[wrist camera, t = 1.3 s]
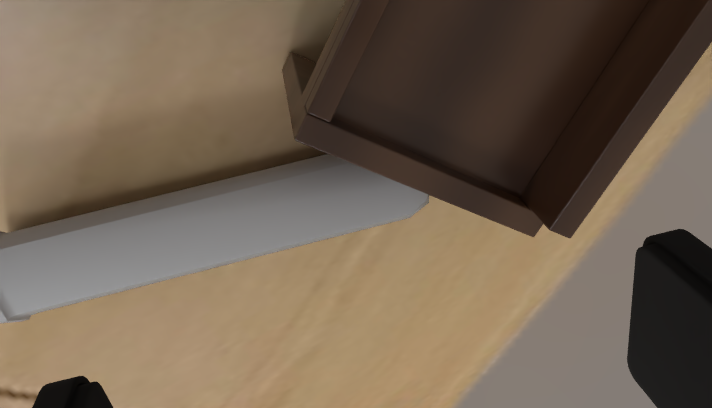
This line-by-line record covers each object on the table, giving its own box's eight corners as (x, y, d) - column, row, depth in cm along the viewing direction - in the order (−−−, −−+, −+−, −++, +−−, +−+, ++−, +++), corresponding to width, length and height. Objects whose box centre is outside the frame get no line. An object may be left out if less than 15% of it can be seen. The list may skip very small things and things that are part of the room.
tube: (430, 128, 30) (-41, 244, 29) (450, 222, 31) (-5, 340, 30) (411, 126, 35) (11, 224, 34) (428, 207, 36) (40, 306, 35)
